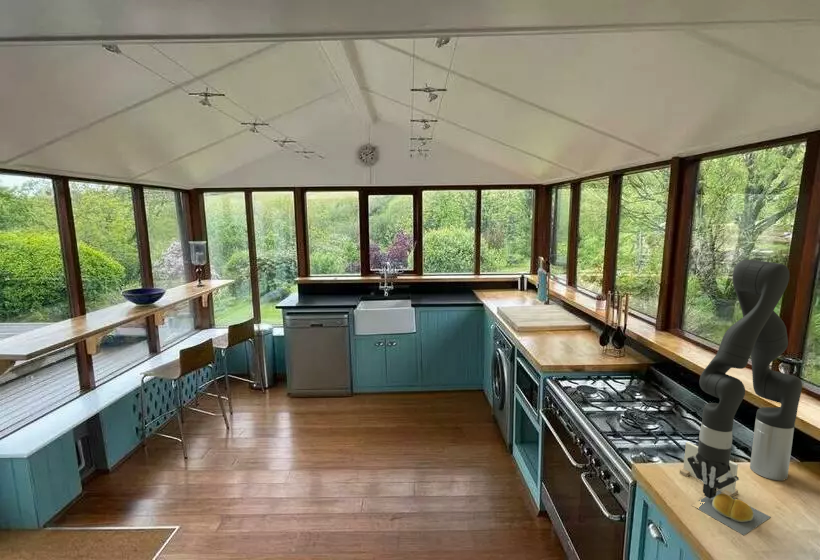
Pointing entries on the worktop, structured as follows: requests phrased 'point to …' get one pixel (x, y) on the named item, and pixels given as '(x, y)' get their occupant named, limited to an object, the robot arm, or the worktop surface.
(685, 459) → the screen
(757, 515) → the mat
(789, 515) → the worktop surface
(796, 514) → the worktop surface
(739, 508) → the bread roll
